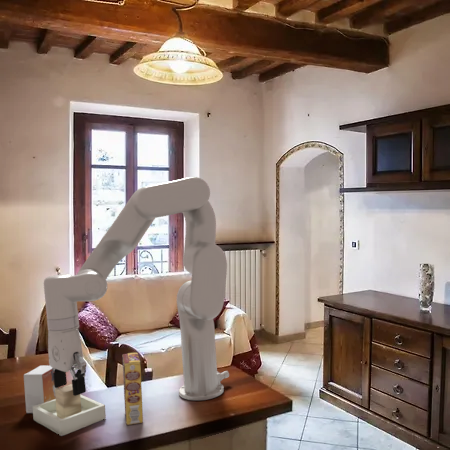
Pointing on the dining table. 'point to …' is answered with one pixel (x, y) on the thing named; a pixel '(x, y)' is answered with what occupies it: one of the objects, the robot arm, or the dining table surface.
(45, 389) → the small box
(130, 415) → the candy box
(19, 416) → the dining table surface
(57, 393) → the birch block
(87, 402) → the tray
